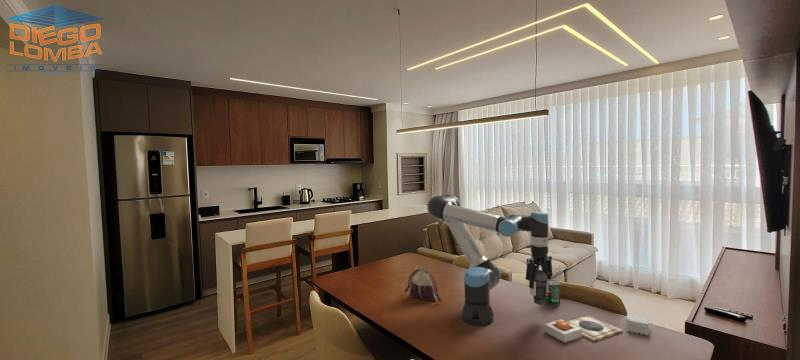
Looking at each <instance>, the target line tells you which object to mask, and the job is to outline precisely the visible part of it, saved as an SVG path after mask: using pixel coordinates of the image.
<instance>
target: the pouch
mask: <svg viewBox="0 0 800 360" xmlns="http://www.w3.org/2000/svg"><path fill="white" fill-rule="evenodd" d="M415 267H416V269H415V270H414V271H413V272H412V273H410V276H409V278H408V281H407V282H408V283H407V287H406V288H405V289H404V293H406V292H408V291H409V294H408V295H409V297H411V296H412V297H413V298H417V299H422V300H425V301H426V300H427V301H431V302H437V301H439V303H440V302H442V298H441V297H440V296H439V292H438V288H437V287H438V286H437V282H436V281H435V279H434V276H433V275H432V274H431V273H430V272H429V271H428V270H427V269H426V267H422V266H421V265H418V266H415ZM409 289H410V290H409ZM412 297H411V298H412ZM436 298H437V299H436Z"/></svg>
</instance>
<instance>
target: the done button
mask: <svg viewBox="0 0 800 360" xmlns="http://www.w3.org/2000/svg"><path fill="white" fill-rule="evenodd" d="M558 320H559V321H557V320H555V321H556V328H558V329H560V330H562V331H567V330H570V323H568V322H567V321H566V320H564V321H561V319H558Z"/></svg>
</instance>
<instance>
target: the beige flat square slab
mask: <svg viewBox="0 0 800 360" xmlns="http://www.w3.org/2000/svg"><path fill="white" fill-rule="evenodd" d="M566 322H568V323H570V324H572V325H574V326H576V327H579V328H581V337H584V338H586V339H588V340H590V341H591V342H593V343H594V342H599V341H601V340H604V339H607V338H610V337H612V336H616V335H618V334H621V333H623V329H621V328H619V327H617V326H614V325H613V324H612V325H611V324H609V323H607V322H606V321H603V320H600V319H597V318H596V317H593V316H591V315H589V314H588V315H585V316H581V317H578V318H575V319H571V320H569V321H568V320H567V321H566Z"/></svg>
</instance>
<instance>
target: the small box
mask: <svg viewBox="0 0 800 360" xmlns="http://www.w3.org/2000/svg"><path fill="white" fill-rule="evenodd" d="M625 323H626V332H629V331H630V332H629V333H634V332H635V334H638V333H640V334H639V335H643V334H645V336H648V335H649V333H650V331H649V318H648V316H647V317H646V316H640V315H635V314H631V313H627V314H626V322H625Z"/></svg>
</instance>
